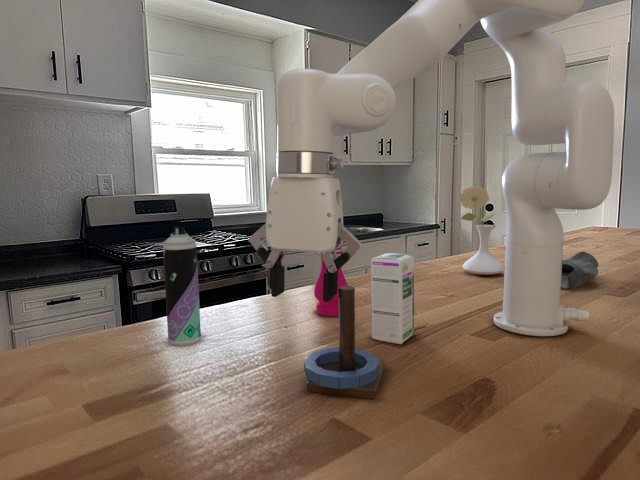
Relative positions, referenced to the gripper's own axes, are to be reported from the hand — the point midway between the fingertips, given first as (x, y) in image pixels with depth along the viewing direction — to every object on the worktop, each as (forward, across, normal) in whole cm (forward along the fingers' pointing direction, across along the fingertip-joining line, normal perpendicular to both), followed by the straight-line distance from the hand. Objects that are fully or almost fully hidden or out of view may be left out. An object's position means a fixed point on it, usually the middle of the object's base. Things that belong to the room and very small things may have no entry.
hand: (302, 296), depth 64 cm
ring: (+10, -6, 0) cm, 12 cm away
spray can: (+12, +25, -9) cm, 29 cm away
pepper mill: (+11, +4, -31) cm, 33 cm away
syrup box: (+11, -10, -20) cm, 25 cm away
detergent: (+9, -50, -75) cm, 90 cm away
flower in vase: (+9, -26, -79) cm, 84 cm away
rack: (+12, -6, 0) cm, 13 cm away
